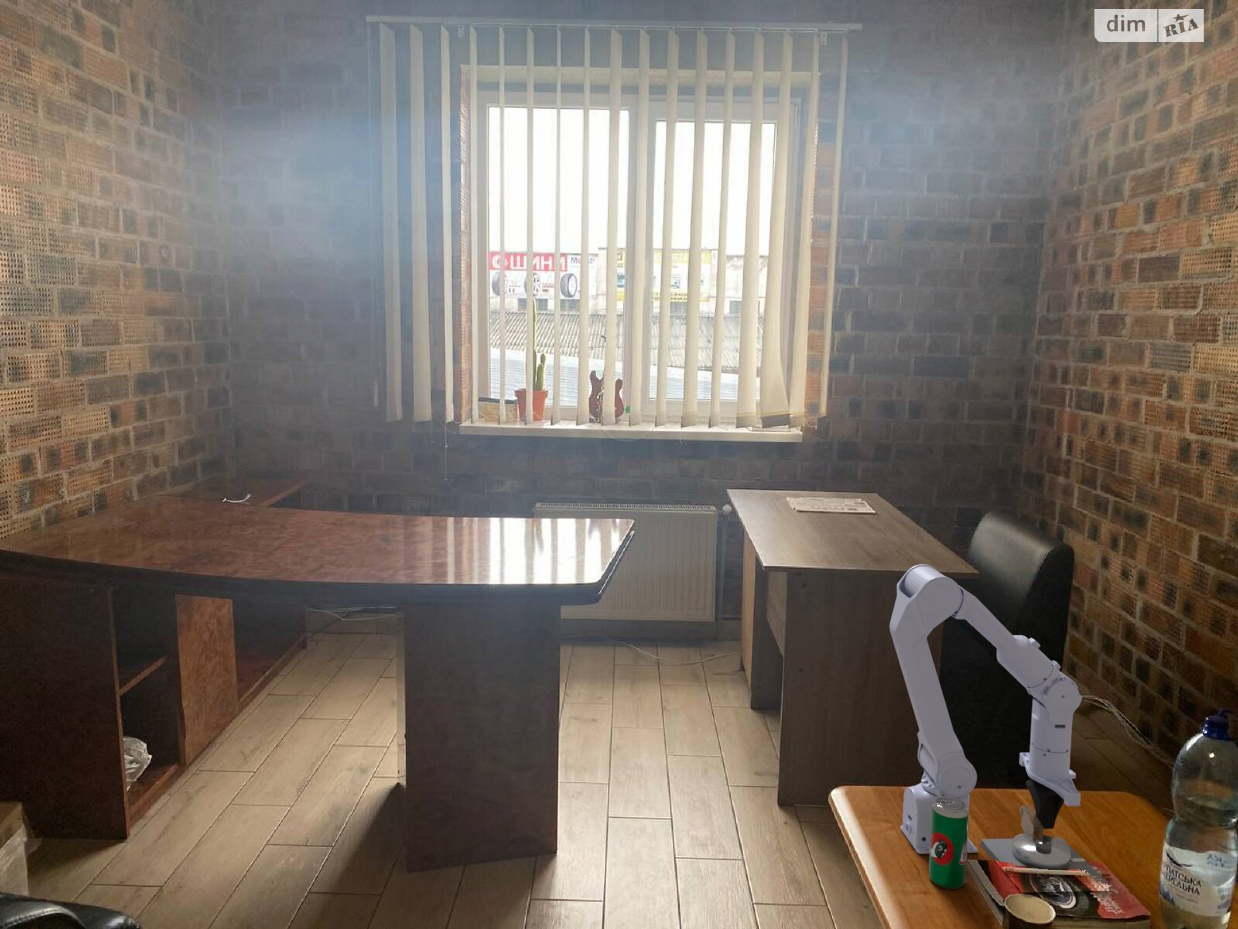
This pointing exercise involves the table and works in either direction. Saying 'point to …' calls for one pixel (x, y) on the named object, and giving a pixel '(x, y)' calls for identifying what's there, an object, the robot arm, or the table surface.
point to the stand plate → (1003, 853)
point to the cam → (1038, 844)
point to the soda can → (948, 842)
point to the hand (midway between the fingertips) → (1045, 827)
